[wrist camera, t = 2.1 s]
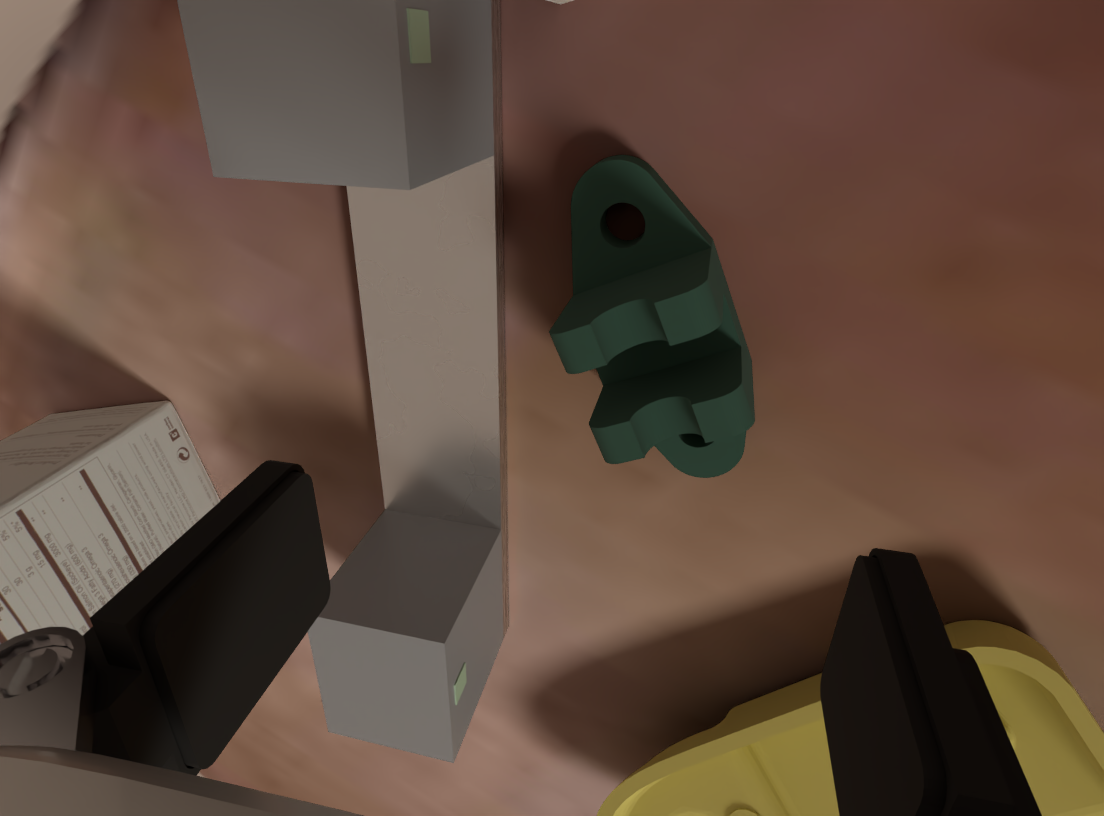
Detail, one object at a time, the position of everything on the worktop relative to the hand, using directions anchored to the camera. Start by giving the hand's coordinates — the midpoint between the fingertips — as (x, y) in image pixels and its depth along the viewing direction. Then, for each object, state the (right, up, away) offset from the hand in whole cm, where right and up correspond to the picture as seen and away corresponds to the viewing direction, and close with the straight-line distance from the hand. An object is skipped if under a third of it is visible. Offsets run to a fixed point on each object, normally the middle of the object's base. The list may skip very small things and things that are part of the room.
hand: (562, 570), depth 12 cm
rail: (-4, +5, +13) cm, 15 cm away
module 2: (-5, -4, +17) cm, 18 cm away
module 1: (-4, +13, +8) cm, 16 cm away
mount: (+4, +6, +11) cm, 13 cm away
